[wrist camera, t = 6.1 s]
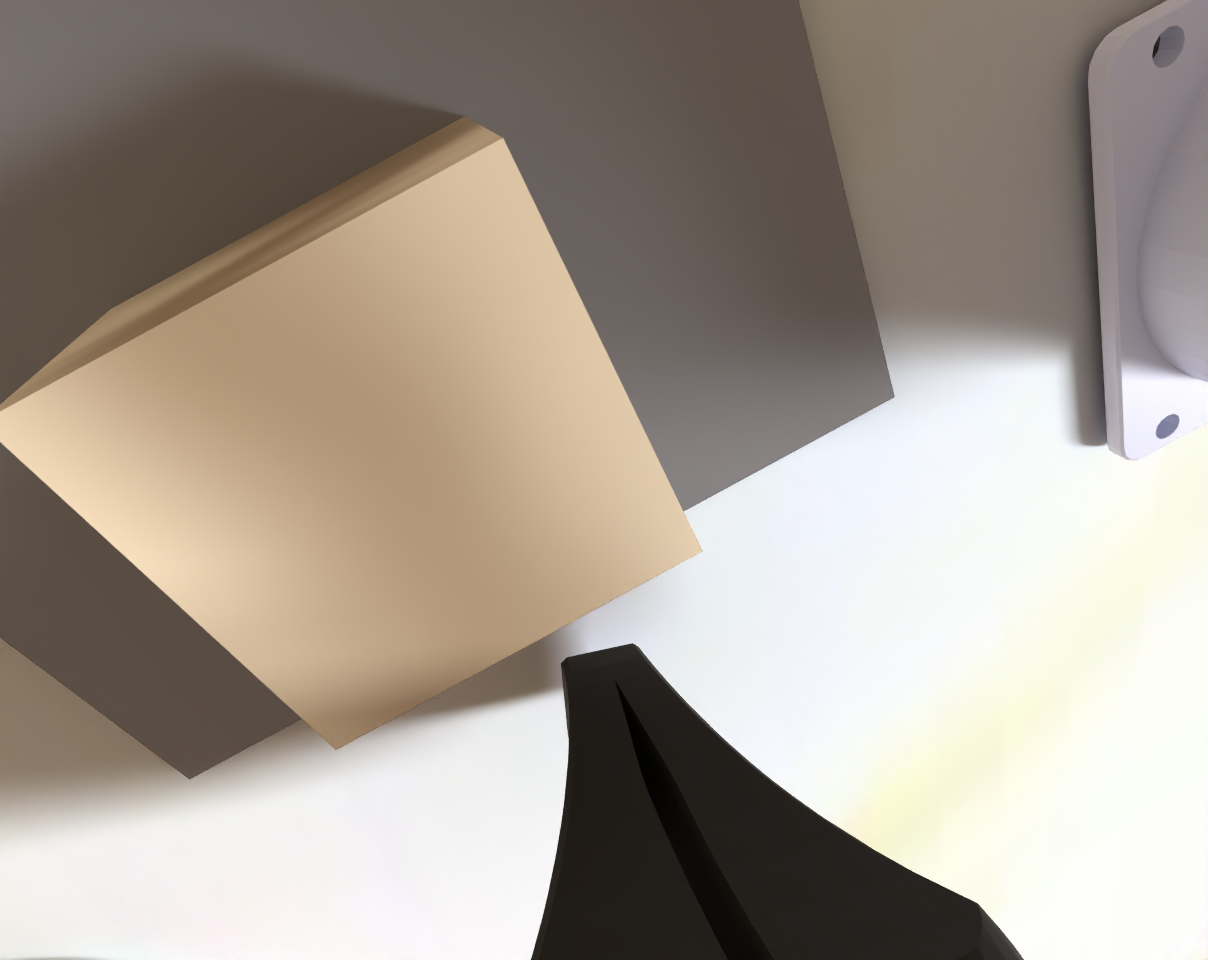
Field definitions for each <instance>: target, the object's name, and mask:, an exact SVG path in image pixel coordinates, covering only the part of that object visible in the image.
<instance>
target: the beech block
mask: <svg viewBox="0 0 1208 960" xmlns="http://www.w3.org/2000/svg"><path fill="white" fill-rule="evenodd" d="M0 442H1V443H2V444H3V445H4V446H5V447H6V448H7V449H8V450H9V451H11V452H12V453H13V454H14V455H15V456H16V457H17V458H18V459H19V460H20V461H21V462H23V463H24V464H25V465H26V466H27V467H28V468H29V469H30V470H31V471H32V472H33V473H35V474H36V475H37V476H38V477H39V478H40V479H41V480H42V481H43V482H44V483H45V484H47V485H48V486H49V487H50V488H51V489H52V490H53V491H54V492H55V493H56V494H57V495H59V496H60V497H61V498H62V499H63V500H64V501H65V502H66V503H67V504H68V505H69V506H71V507H72V508H73V509H74V510H75V511H76V512H77V513H78V514H79V515H80V516H81V517H83V518H84V519H85V520H86V521H87V522H88V523H89V524H90V525H91V526H92V527H93V528H95V529H96V530H97V531H98V532H99V533H100V534H101V535H102V536H103V537H104V538H105V539H107V540H108V541H109V542H110V543H111V544H112V545H113V546H114V547H115V548H116V549H117V550H119V551H120V552H121V553H122V554H123V555H124V556H125V557H126V558H127V559H128V560H129V561H131V562H132V563H133V564H134V565H135V566H136V567H137V568H138V569H139V570H140V571H141V572H143V573H144V574H145V575H146V576H147V577H148V578H149V579H150V580H151V581H152V582H153V583H155V584H156V585H157V586H158V587H159V588H160V589H161V590H162V591H163V592H164V593H165V594H167V595H168V596H169V597H170V598H171V599H172V600H173V601H174V602H175V603H176V604H177V605H179V606H180V607H181V608H182V609H183V610H184V611H185V612H186V613H187V614H188V615H189V616H191V617H192V618H193V619H194V620H195V621H196V622H197V623H198V624H199V625H200V626H201V627H203V628H204V629H205V630H206V631H207V632H208V633H209V634H210V635H211V636H212V637H213V638H215V639H216V640H217V641H218V642H219V643H220V644H221V645H222V646H223V647H224V648H225V649H227V650H228V651H229V652H230V653H231V654H232V655H233V656H234V657H235V658H236V659H237V660H239V661H240V662H241V663H242V664H243V665H244V666H245V667H246V668H247V669H248V670H249V671H251V672H252V673H253V674H254V675H255V676H256V677H257V678H258V679H259V680H260V681H261V682H263V683H264V684H265V685H266V686H267V687H268V688H269V689H270V690H271V691H272V692H273V693H275V694H276V695H277V696H278V697H279V698H280V699H281V700H282V701H283V702H284V703H285V704H287V705H288V706H289V707H290V708H291V709H292V710H293V711H294V712H295V713H296V714H297V715H299V716H300V717H301V718H302V719H303V720H304V721H305V722H306V723H307V724H308V725H309V726H311V727H312V728H313V729H314V730H315V731H316V732H317V733H318V734H319V735H320V736H321V737H323V738H324V739H325V740H326V741H327V742H328V743H329V744H330V745H331V746H332V747H333V748H335V749H336V750H337V749H339V748H340V747H342V746H344V745H346V744H348V743H350V742H352V741H353V740H355V739H357V738H359V737H361V736H363V735H364V734H366V733H368V732H370V731H372V730H374V729H375V728H377V727H379V726H381V725H383V724H385V723H387V722H388V721H390V720H392V719H394V718H396V717H398V716H399V715H401V714H403V713H405V712H407V711H409V710H411V709H412V708H414V707H416V706H418V705H420V704H422V703H423V702H425V701H427V700H429V699H431V698H433V697H435V696H436V695H438V694H440V693H442V692H444V691H446V690H447V689H449V688H451V687H453V686H455V685H457V684H459V683H460V682H462V681H464V680H466V679H468V678H470V677H471V676H473V675H475V674H477V673H479V672H481V671H483V670H484V669H486V668H488V667H490V666H492V665H494V664H495V663H497V662H499V661H501V660H503V659H505V658H506V657H508V656H510V655H512V654H514V653H516V652H518V651H519V650H521V649H523V648H525V647H527V646H529V645H530V644H532V643H534V642H536V641H538V640H540V639H542V638H543V637H545V636H547V635H549V634H551V633H553V632H554V631H556V630H558V629H560V628H562V627H564V626H566V625H567V624H569V623H571V622H573V621H575V620H577V619H578V618H580V617H582V616H584V615H586V614H588V613H590V612H591V611H593V610H595V609H597V608H599V607H601V606H602V605H604V604H606V603H608V602H610V601H612V600H614V599H615V598H617V597H619V596H621V595H623V594H625V593H626V592H628V591H630V590H632V589H634V588H636V587H637V586H639V585H641V584H643V583H645V582H647V581H649V580H650V579H652V578H654V577H656V576H658V575H660V574H661V573H663V572H665V571H667V570H669V569H671V568H673V567H674V566H676V565H678V564H680V563H682V562H684V561H685V560H687V559H689V558H691V557H693V556H695V555H697V554H698V553H700V552H702V549H701V547H700V545H699V543H698V541H697V539H696V537H695V535H694V533H693V530H692V528H691V526H690V524H689V522H688V520H687V518H686V516H685V514H684V512H683V510H682V508H681V506H680V504H679V501H678V499H677V497H676V495H675V493H674V491H673V489H672V487H671V485H670V483H669V481H668V479H667V477H666V474H665V472H664V470H663V468H662V466H661V464H660V462H659V460H658V458H657V456H656V454H655V452H654V450H653V448H652V445H651V443H650V441H649V439H648V437H647V435H646V433H645V431H644V429H643V427H642V425H641V423H640V421H639V419H638V416H637V414H636V412H635V410H634V408H633V406H632V404H631V402H630V400H629V398H628V396H627V394H626V392H625V389H624V387H623V385H622V383H621V381H620V379H619V377H618V375H617V373H616V371H615V369H614V367H613V365H612V363H611V360H610V358H609V356H608V354H607V352H606V350H605V348H604V346H603V344H602V342H601V340H600V338H599V336H598V334H597V331H596V329H595V327H594V325H593V323H592V321H591V319H590V317H589V315H588V313H587V311H586V309H585V307H584V304H583V302H582V300H581V298H580V296H579V294H578V292H577V290H576V288H575V286H574V284H573V282H572V280H571V278H570V275H569V273H568V271H567V269H566V267H565V265H564V263H563V261H562V259H561V257H560V255H559V253H558V251H557V248H556V246H555V244H554V242H553V240H552V238H551V236H550V234H549V232H548V230H547V228H546V226H545V224H544V222H543V219H542V217H541V215H540V213H539V211H538V209H537V207H536V205H535V203H534V201H533V199H532V197H531V195H530V193H529V190H528V188H527V186H526V184H525V182H524V180H523V178H522V176H521V174H520V172H519V170H518V168H517V166H516V163H515V161H514V159H513V157H512V155H511V153H510V151H509V149H508V147H507V145H506V143H505V141H504V139H503V137H501V136H499V135H497V134H495V133H494V132H492V131H490V130H488V129H486V128H485V127H483V126H481V125H479V124H478V123H476V122H474V121H472V120H470V119H469V118H467V117H465V116H464V117H463V118H461V119H459V120H457V121H455V122H453V123H452V124H450V125H448V126H446V127H444V128H442V129H441V130H439V131H437V132H435V133H433V134H431V135H430V136H428V137H426V138H424V139H422V140H420V141H419V142H417V143H415V144H413V145H411V146H409V147H407V148H406V149H404V150H402V151H400V152H398V153H396V154H395V155H393V156H391V157H389V158H387V159H385V160H384V161H382V162H380V163H378V164H376V165H374V166H373V167H371V168H369V169H367V170H365V171H363V172H362V173H360V174H358V175H356V176H354V177H352V178H351V179H349V180H347V181H345V182H343V183H341V184H340V185H338V186H336V187H334V188H332V189H330V190H328V191H327V192H325V193H323V194H321V195H319V196H317V197H316V198H314V199H312V200H310V201H308V202H306V203H305V204H303V205H301V206H299V207H297V208H295V209H294V210H292V211H290V212H288V213H286V214H284V215H283V216H281V217H279V218H277V219H275V220H273V221H272V222H270V223H268V224H266V225H264V226H262V227H261V228H259V229H257V230H255V231H253V232H251V233H249V234H248V235H246V236H244V237H242V238H240V239H238V240H237V241H235V242H233V243H231V244H229V245H227V246H226V247H224V248H222V249H220V250H218V251H216V252H215V253H213V254H211V255H209V256H207V257H205V258H204V259H202V260H200V261H198V262H196V263H194V264H193V265H191V266H189V267H187V268H185V269H183V270H181V271H180V272H178V273H176V274H174V275H172V276H170V277H169V278H167V279H165V280H163V281H161V282H159V283H158V284H156V285H154V286H152V287H150V288H148V289H147V290H145V291H143V292H141V293H139V294H137V295H136V296H134V297H132V298H130V299H128V300H126V301H125V302H123V303H121V304H119V305H117V306H115V307H114V308H112V309H110V310H109V311H108V312H107V313H106V314H104V315H103V316H102V317H101V318H100V319H99V320H97V321H96V322H95V323H94V324H93V325H92V326H90V327H89V328H88V329H87V330H86V331H85V332H84V333H82V334H81V335H80V336H79V337H78V338H77V339H75V340H74V341H73V342H72V343H71V344H70V345H69V346H67V347H66V348H65V349H64V350H63V351H62V352H60V353H59V354H58V355H57V356H56V357H55V358H54V359H52V360H51V361H50V362H49V363H48V364H47V365H45V366H44V367H43V368H42V369H41V370H40V371H39V372H37V373H36V374H35V375H34V376H33V377H32V378H30V379H29V380H28V381H27V382H26V383H25V384H23V385H22V386H21V387H20V388H19V389H18V390H17V391H15V392H14V393H13V394H12V395H11V396H10V397H8V398H7V399H6V400H5V401H4V402H3V403H2V404H0Z"/></svg>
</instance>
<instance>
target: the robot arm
mask: <svg viewBox="0 0 1208 960" xmlns="http://www.w3.org/2000/svg"><path fill="white" fill-rule="evenodd" d="M1159 36H1160V44H1159V49H1158V51H1157V53H1156V55H1155V56H1154V58H1153V57H1152V54H1153V49H1154V44H1155V43H1156V41H1157V39H1158V37H1159ZM1088 91H1089V109H1090V128H1091V147H1092V165H1093V184H1094V202H1095V221H1096V240H1097V258H1098V277H1099V295H1100V314H1101V333H1102V351H1103V370H1104V388H1105V407H1106V426H1107V444H1108V447H1109V450H1110V451H1112V452H1113V453H1115V454H1117V455H1119V456H1120V457H1122V458H1124V459H1126V460H1137V459H1140V458H1142V457H1145V456H1147V455H1149V454H1151V453H1152V452H1154V451H1156V450H1158V449H1160V448H1162V447H1164V446H1165V445H1167V444H1169V443H1171V442H1173V441H1175V440H1176V439H1178V438H1180V437H1182V436H1184V435H1186V434H1188V433H1189V432H1191V431H1193V430H1195V429H1197V428H1199V427H1201V426H1202V425H1204V424H1206V423H1208V0H1167V1H1165V2H1163V3H1161V4H1159V5H1157V6H1155V7H1154V8H1152V9H1150V10H1148V11H1146V12H1144V13H1143V14H1141V15H1139V16H1137V17H1135V18H1133V19H1132V20H1130V21H1128V22H1126V23H1124V24H1122V25H1120V26H1119V27H1117V28H1115V29H1114V30H1113V31H1112V32H1110V33H1109V34H1108V35H1107V36H1105V37H1104V39H1103V40H1102V42H1101V43H1100V44H1099V46H1098V47H1097V49H1096V50H1095V52H1094V55H1093V58H1092V60H1091V63H1090V65H1089V74H1088ZM561 669H562V679H563V689H564V699H565V709H566V719H567V729H568V737H569V755H568V768H567V779H566V789H565V800H564V808H563V815H562V822H561V829H560V835H559V841H558V847H557V853H556V858H555V863H554V868H553V873H552V878H551V882H550V887H549V892H548V897H547V901H546V905H545V909H544V914H543V918H542V922H541V925H540V929H539V933H538V936H537V940H536V944H535V947H534V951H533V955H532V958H531V960H1024V959H1023V958H1022V957H1021V955H1020V954H1019V952H1018V951H1017V950H1016V948H1015V947H1014V946H1013V944H1012V943H1011V942H1010V941H1009V939H1008V938H1007V937H1006V936H1005V934H1004V933H1003V932H1002V931H1001V929H1000V928H999V927H998V926H997V925H996V924H995V923H994V922H993V920H992V919H991V918H990V917H989V916H988V915H987V914H986V912H985V911H984V910H983V909H982V908H981V907H980V905H979V904H978V903H976V902H974V901H972V900H969V899H967V898H965V897H963V896H961V895H959V894H957V893H955V892H953V891H951V890H949V889H947V888H945V887H943V886H941V885H939V884H937V883H935V882H933V881H931V880H929V879H927V878H924V877H922V876H920V875H918V874H916V873H914V872H912V871H911V870H909V869H907V868H905V867H904V866H902V865H900V864H898V863H896V862H895V861H893V860H891V859H889V858H888V857H886V856H884V855H882V854H881V853H879V852H877V851H875V850H874V849H872V848H870V847H869V846H867V845H866V844H864V843H862V842H861V841H859V840H858V839H856V838H855V837H853V836H851V835H850V834H848V833H847V832H845V831H844V830H842V829H840V828H839V827H837V826H836V825H834V824H832V823H831V822H829V821H828V820H826V819H825V818H823V817H822V816H820V815H819V814H817V813H816V812H814V811H813V810H812V809H810V808H809V807H807V806H806V805H805V804H803V803H802V802H800V801H799V800H798V799H796V798H795V797H793V796H792V795H791V794H789V793H788V792H787V791H785V790H784V789H783V788H782V787H780V786H779V785H778V784H776V783H775V782H774V781H772V780H771V779H770V778H769V777H767V776H766V775H765V774H764V773H762V772H761V771H760V770H759V769H758V768H756V767H755V766H754V765H753V764H752V763H750V762H749V761H748V760H747V759H746V758H745V757H743V756H742V755H741V754H740V753H739V752H738V751H737V750H736V749H734V748H733V747H732V746H731V745H730V744H729V743H728V742H727V741H725V740H724V739H723V738H722V737H721V736H720V735H719V734H718V733H717V732H716V731H715V730H714V729H713V728H712V727H711V726H710V725H709V724H708V723H707V722H706V721H705V720H704V719H703V718H702V717H701V716H700V715H699V714H698V713H697V712H696V711H695V710H694V709H693V708H692V707H691V706H690V705H689V704H688V703H687V702H686V701H685V700H684V699H683V698H682V697H681V696H680V695H679V694H678V693H677V692H676V691H675V689H674V688H673V687H672V686H671V685H670V684H669V683H668V682H667V681H666V680H665V678H664V677H663V676H662V675H661V674H660V673H659V672H658V670H657V669H656V668H655V667H654V666H653V664H652V663H651V662H650V661H649V660H648V658H647V657H646V656H645V655H644V653H643V652H642V651H641V650H640V648H639V647H638V646H636V645H635V644H633V643H632V644H627V645H623V646H618V647H613V648H609V649H604V650H599V651H595V652H590V653H585V654H581V655H576V656H572V657H567V658H566V659H565V660H564V661H563V662H562V663H561Z"/></svg>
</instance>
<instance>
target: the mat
mask: <svg viewBox="0 0 1208 960" xmlns="http://www.w3.org/2000/svg"><path fill="white" fill-rule="evenodd" d="M464 116H465V117H467V118H469V119H470V120H472V121H474V122H476V123H478V124H479V125H481V126H483V127H485V128H486V129H488V130H490V131H492V132H494V133H495V134H497V135H499V136H501V137H503V139H504V141H505V143H506V145H507V147H508V149H509V151H510V153H511V155H512V157H513V159H514V161H515V163H516V166H517V168H518V170H519V172H520V174H521V176H522V178H523V180H524V182H525V184H526V186H527V188H528V190H529V193H530V195H531V197H532V199H533V201H534V203H535V205H536V207H537V209H538V211H539V213H540V215H541V217H542V219H543V222H544V224H545V226H546V228H547V230H548V232H549V234H550V236H551V238H552V240H553V242H554V244H555V246H556V248H557V251H558V253H559V255H560V257H561V259H562V261H563V263H564V265H565V267H566V269H567V271H568V273H569V275H570V278H571V280H572V282H573V284H574V286H575V288H576V290H577V292H578V294H579V296H580V298H581V300H582V302H583V304H584V307H585V309H586V311H587V313H588V315H589V317H590V319H591V321H592V323H593V325H594V327H595V329H596V331H597V334H598V336H599V338H600V340H601V342H602V344H603V346H604V348H605V350H606V352H607V354H608V356H609V358H610V360H611V363H612V365H613V367H614V369H615V371H616V373H617V375H618V377H619V379H620V381H621V383H622V385H623V387H624V389H625V392H626V394H627V396H628V398H629V400H630V402H631V404H632V406H633V408H634V410H635V412H636V414H637V416H638V419H639V421H640V423H641V425H642V427H643V429H644V431H645V433H646V435H647V437H648V439H649V441H650V443H651V445H652V448H653V450H654V452H655V454H656V456H657V458H658V460H659V462H660V464H661V466H662V468H663V470H664V472H665V474H666V477H667V479H668V481H669V483H670V485H671V487H672V489H673V491H674V493H675V495H676V497H677V499H678V501H679V504H680V506H681V508H682V510H683V511H685V510H687V509H689V508H691V507H693V506H695V505H696V504H698V503H700V502H702V501H704V500H706V499H707V498H709V497H711V496H713V495H715V494H717V493H718V492H720V491H722V490H724V489H726V488H728V487H730V486H731V485H733V484H735V483H737V482H739V481H741V480H742V479H744V478H746V477H748V476H750V475H752V474H754V473H755V472H757V471H759V470H761V469H763V468H765V467H766V466H768V465H770V464H772V463H774V462H776V461H777V460H779V459H781V458H783V457H785V456H787V455H789V454H790V453H792V452H794V451H796V450H798V449H800V448H801V447H803V446H805V445H807V444H809V443H811V442H813V441H814V440H816V439H818V438H820V437H822V436H824V435H825V434H827V433H829V432H831V431H833V430H835V429H837V428H838V427H840V426H842V425H844V424H846V423H848V422H849V421H851V420H853V419H855V418H857V417H859V416H860V415H862V414H864V413H866V412H868V411H870V410H872V409H873V408H875V407H877V406H879V405H881V404H883V403H884V402H886V401H888V400H890V399H892V398H894V392H893V388H892V384H891V380H890V376H889V372H888V368H887V364H886V360H885V355H884V351H883V347H882V343H881V339H880V335H879V331H878V327H877V322H876V318H875V314H874V310H873V306H872V302H871V298H870V294H869V290H868V285H867V281H866V277H865V273H864V269H863V265H862V261H861V257H860V252H859V248H858V244H857V240H856V236H855V232H854V228H853V224H852V220H851V215H850V211H849V207H848V203H847V199H846V195H845V191H844V187H843V182H842V178H841V174H840V170H839V166H838V162H837V158H836V154H835V150H834V145H833V141H832V137H831V133H830V129H829V125H828V121H827V117H826V112H825V108H824V104H823V100H822V96H821V92H820V88H819V84H818V80H817V75H816V71H815V67H814V63H813V59H812V55H811V51H810V47H809V42H808V38H807V34H806V30H805V26H804V22H803V18H802V14H801V10H800V5H799V1H798V0H0V404H2V403H3V402H4V401H5V400H6V399H7V398H8V397H10V396H11V395H12V394H13V393H14V392H15V391H17V390H18V389H19V388H20V387H21V386H22V385H23V384H25V383H26V382H27V381H28V380H29V379H30V378H32V377H33V376H34V375H35V374H36V373H37V372H39V371H40V370H41V369H42V368H43V367H44V366H45V365H47V364H48V363H49V362H50V361H51V360H52V359H54V358H55V357H56V356H57V355H58V354H59V353H60V352H62V351H63V350H64V349H65V348H66V347H67V346H69V345H70V344H71V343H72V342H73V341H74V340H75V339H77V338H78V337H79V336H80V335H81V334H82V333H84V332H85V331H86V330H87V329H88V328H89V327H90V326H92V325H93V324H94V323H95V322H96V321H97V320H99V319H100V318H101V317H102V316H103V315H104V314H106V313H107V312H108V311H109V310H110V309H112V308H114V307H115V306H117V305H119V304H121V303H123V302H125V301H126V300H128V299H130V298H132V297H134V296H136V295H137V294H139V293H141V292H143V291H145V290H147V289H148V288H150V287H152V286H154V285H156V284H158V283H159V282H161V281H163V280H165V279H167V278H169V277H170V276H172V275H174V274H176V273H178V272H180V271H181V270H183V269H185V268H187V267H189V266H191V265H193V264H194V263H196V262H198V261H200V260H202V259H204V258H205V257H207V256H209V255H211V254H213V253H215V252H216V251H218V250H220V249H222V248H224V247H226V246H227V245H229V244H231V243H233V242H235V241H237V240H238V239H240V238H242V237H244V236H246V235H248V234H249V233H251V232H253V231H255V230H257V229H259V228H261V227H262V226H264V225H266V224H268V223H270V222H272V221H273V220H275V219H277V218H279V217H281V216H283V215H284V214H286V213H288V212H290V211H292V210H294V209H295V208H297V207H299V206H301V205H303V204H305V203H306V202H308V201H310V200H312V199H314V198H316V197H317V196H319V195H321V194H323V193H325V192H327V191H328V190H330V189H332V188H334V187H336V186H338V185H340V184H341V183H343V182H345V181H347V180H349V179H351V178H352V177H354V176H356V175H358V174H360V173H362V172H363V171H365V170H367V169H369V168H371V167H373V166H374V165H376V164H378V163H380V162H382V161H384V160H385V159H387V158H389V157H391V156H393V155H395V154H396V153H398V152H400V151H402V150H404V149H406V148H407V147H409V146H411V145H413V144H415V143H417V142H419V141H420V140H422V139H424V138H426V137H428V136H430V135H431V134H433V133H435V132H437V131H439V130H441V129H442V128H444V127H446V126H448V125H450V124H452V123H453V122H455V121H457V120H459V119H461V118H463V117H464ZM0 638H2V639H3V640H4V641H6V642H7V643H8V644H10V645H11V646H12V647H14V648H15V649H16V650H18V651H19V652H20V653H22V654H23V655H24V656H26V657H27V658H28V659H30V660H31V661H32V662H34V663H35V664H36V665H38V666H39V667H40V668H42V669H43V670H45V671H46V672H47V673H49V674H50V675H51V676H53V677H54V678H55V679H57V680H58V681H59V682H61V683H62V684H63V685H65V686H66V687H67V688H69V689H70V690H71V691H73V692H74V693H75V694H77V695H78V696H79V697H81V698H82V699H83V700H85V701H86V702H87V703H89V704H90V705H91V706H93V707H94V708H95V709H97V710H98V711H99V712H101V713H102V714H103V715H105V716H106V717H107V718H109V719H110V720H111V721H113V722H114V723H115V724H117V725H118V726H119V727H121V728H122V729H123V730H125V731H126V732H127V733H129V734H130V735H131V736H133V737H134V738H135V739H137V740H138V741H139V742H141V743H142V744H143V745H145V746H146V747H147V748H149V749H150V750H151V751H153V752H154V753H155V754H157V755H158V756H159V757H161V758H162V759H163V760H165V761H166V762H167V763H169V764H170V765H171V766H173V767H174V768H175V769H177V770H178V771H179V772H181V773H182V774H183V775H185V776H186V777H187V778H189V779H191V778H193V777H195V776H197V775H198V774H200V773H202V772H204V771H206V770H208V769H209V768H211V767H213V766H215V765H217V764H219V763H220V762H222V761H224V760H226V759H228V758H230V757H232V756H233V755H235V754H237V753H239V752H241V751H243V750H244V749H246V748H248V747H250V746H252V745H254V744H256V743H257V742H259V741H261V740H263V739H265V738H267V737H268V736H270V735H272V734H274V733H276V732H278V731H280V730H281V729H283V728H285V727H287V726H289V725H291V724H292V723H294V722H296V721H298V720H300V719H302V718H301V717H300V716H299V715H297V714H296V713H295V712H294V711H293V710H292V709H291V708H290V707H289V706H288V705H287V704H285V703H284V702H283V701H282V700H281V699H280V698H279V697H278V696H277V695H276V694H275V693H273V692H272V691H271V690H270V689H269V688H268V687H267V686H266V685H265V684H264V683H263V682H261V681H260V680H259V679H258V678H257V677H256V676H255V675H254V674H253V673H252V672H251V671H249V670H248V669H247V668H246V667H245V666H244V665H243V664H242V663H241V662H240V661H239V660H237V659H236V658H235V657H234V656H233V655H232V654H231V653H230V652H229V651H228V650H227V649H225V648H224V647H223V646H222V645H221V644H220V643H219V642H218V641H217V640H216V639H215V638H213V637H212V636H211V635H210V634H209V633H208V632H207V631H206V630H205V629H204V628H203V627H201V626H200V625H199V624H198V623H197V622H196V621H195V620H194V619H193V618H192V617H191V616H189V615H188V614H187V613H186V612H185V611H184V610H183V609H182V608H181V607H180V606H179V605H177V604H176V603H175V602H174V601H173V600H172V599H171V598H170V597H169V596H168V595H167V594H165V593H164V592H163V591H162V590H161V589H160V588H159V587H158V586H157V585H156V584H155V583H153V582H152V581H151V580H150V579H149V578H148V577H147V576H146V575H145V574H144V573H143V572H141V571H140V570H139V569H138V568H137V567H136V566H135V565H134V564H133V563H132V562H131V561H129V560H128V559H127V558H126V557H125V556H124V555H123V554H122V553H121V552H120V551H119V550H117V549H116V548H115V547H114V546H113V545H112V544H111V543H110V542H109V541H108V540H107V539H105V538H104V537H103V536H102V535H101V534H100V533H99V532H98V531H97V530H96V529H95V528H93V527H92V526H91V525H90V524H89V523H88V522H87V521H86V520H85V519H84V518H83V517H81V516H80V515H79V514H78V513H77V512H76V511H75V510H74V509H73V508H72V507H71V506H69V505H68V504H67V503H66V502H65V501H64V500H63V499H62V498H61V497H60V496H59V495H57V494H56V493H55V492H54V491H53V490H52V489H51V488H50V487H49V486H48V485H47V484H45V483H44V482H43V481H42V480H41V479H40V478H39V477H38V476H37V475H36V474H35V473H33V472H32V471H31V470H30V469H29V468H28V467H27V466H26V465H25V464H24V463H23V462H21V461H20V460H19V459H18V458H17V457H16V456H15V455H14V454H13V453H12V452H11V451H9V450H8V449H7V448H6V447H5V446H4V445H3V444H2V443H1V442H0Z"/></svg>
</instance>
